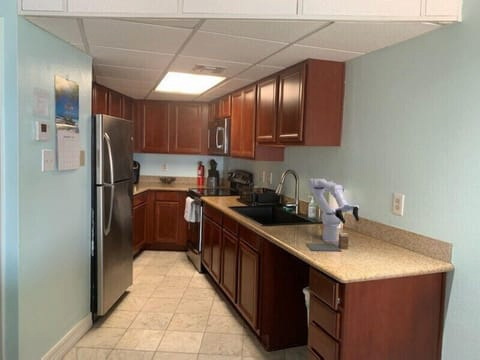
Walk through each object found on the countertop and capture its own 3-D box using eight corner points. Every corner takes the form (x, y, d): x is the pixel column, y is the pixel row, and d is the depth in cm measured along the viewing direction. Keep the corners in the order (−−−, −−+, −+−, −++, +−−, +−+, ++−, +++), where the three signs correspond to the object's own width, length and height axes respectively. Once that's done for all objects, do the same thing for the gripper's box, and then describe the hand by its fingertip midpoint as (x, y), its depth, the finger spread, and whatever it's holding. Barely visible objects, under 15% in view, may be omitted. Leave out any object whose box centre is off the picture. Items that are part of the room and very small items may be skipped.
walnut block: (338, 247, 208) (339, 233, 207) (345, 247, 208) (346, 233, 207) (340, 249, 204) (341, 234, 203) (347, 249, 204) (348, 234, 203)
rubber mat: (305, 244, 212) (305, 243, 212) (334, 244, 213) (334, 243, 213) (311, 251, 198) (311, 249, 198) (341, 251, 199) (341, 250, 199)
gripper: (330, 199, 207) (339, 219, 198) (356, 195, 208) (365, 215, 200) (329, 207, 212) (337, 227, 204) (353, 203, 214) (362, 222, 205)
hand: (351, 221), depth 202 cm, fingers open, 7 cm apart
